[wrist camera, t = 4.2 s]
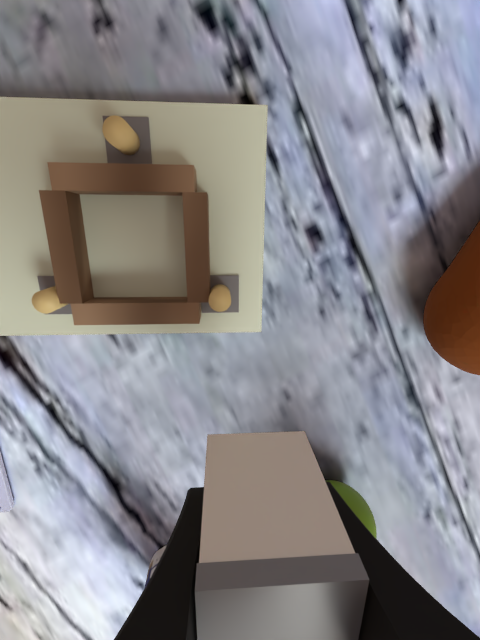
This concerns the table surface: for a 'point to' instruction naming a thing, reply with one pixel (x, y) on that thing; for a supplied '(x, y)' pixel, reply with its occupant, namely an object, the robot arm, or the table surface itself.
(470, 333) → the smoking pipe
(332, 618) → the plug block
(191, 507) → the robot arm
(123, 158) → the board
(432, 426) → the table surface
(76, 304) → the socket collar
